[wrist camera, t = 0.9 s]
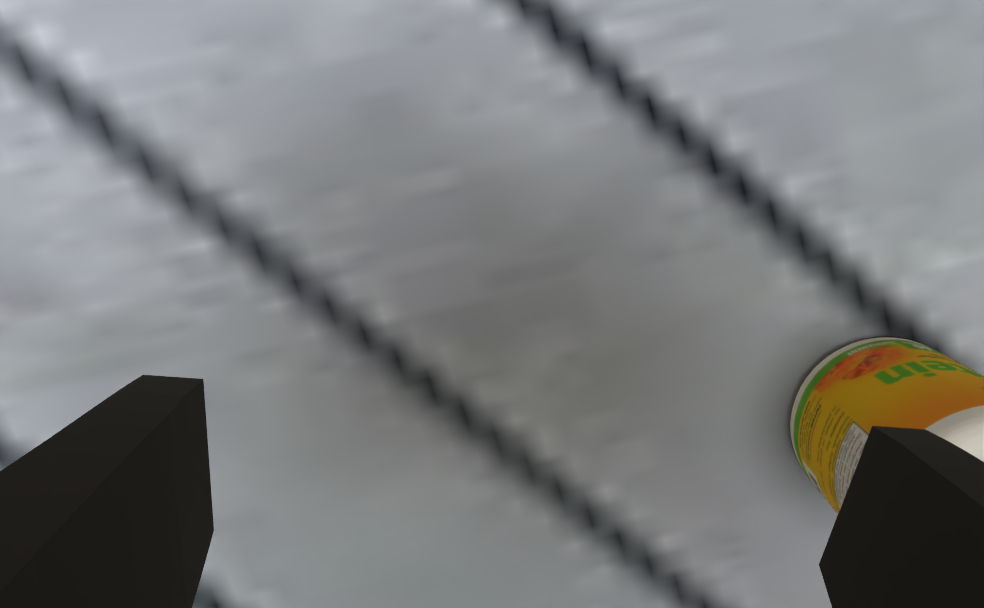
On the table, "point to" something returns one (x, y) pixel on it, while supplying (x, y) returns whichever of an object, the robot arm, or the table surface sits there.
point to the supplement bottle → (881, 406)
